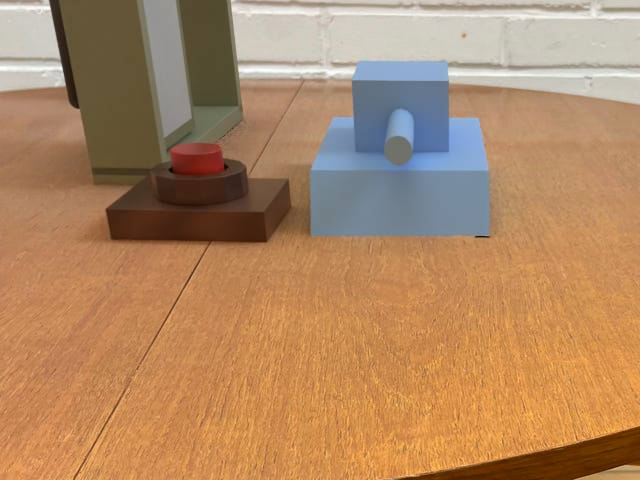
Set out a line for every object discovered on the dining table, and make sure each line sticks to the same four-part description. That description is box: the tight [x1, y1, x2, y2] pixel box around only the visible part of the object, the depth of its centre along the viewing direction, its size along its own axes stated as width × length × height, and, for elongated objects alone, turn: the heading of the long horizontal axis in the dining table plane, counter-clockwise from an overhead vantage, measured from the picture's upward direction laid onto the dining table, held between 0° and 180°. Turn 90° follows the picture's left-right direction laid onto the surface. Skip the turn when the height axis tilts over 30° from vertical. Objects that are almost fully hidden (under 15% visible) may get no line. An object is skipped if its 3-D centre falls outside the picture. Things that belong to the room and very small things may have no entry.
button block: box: [105, 157, 292, 243], centre depth 70 cm, size 11×9×4 cm
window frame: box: [59, 0, 244, 186], centre depth 87 cm, size 6×28×18 cm, turn 179°
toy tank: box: [309, 60, 491, 237], centre depth 76 cm, size 22×9×13 cm
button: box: [170, 143, 225, 175], centre depth 69 cm, size 4×4×2 cm
